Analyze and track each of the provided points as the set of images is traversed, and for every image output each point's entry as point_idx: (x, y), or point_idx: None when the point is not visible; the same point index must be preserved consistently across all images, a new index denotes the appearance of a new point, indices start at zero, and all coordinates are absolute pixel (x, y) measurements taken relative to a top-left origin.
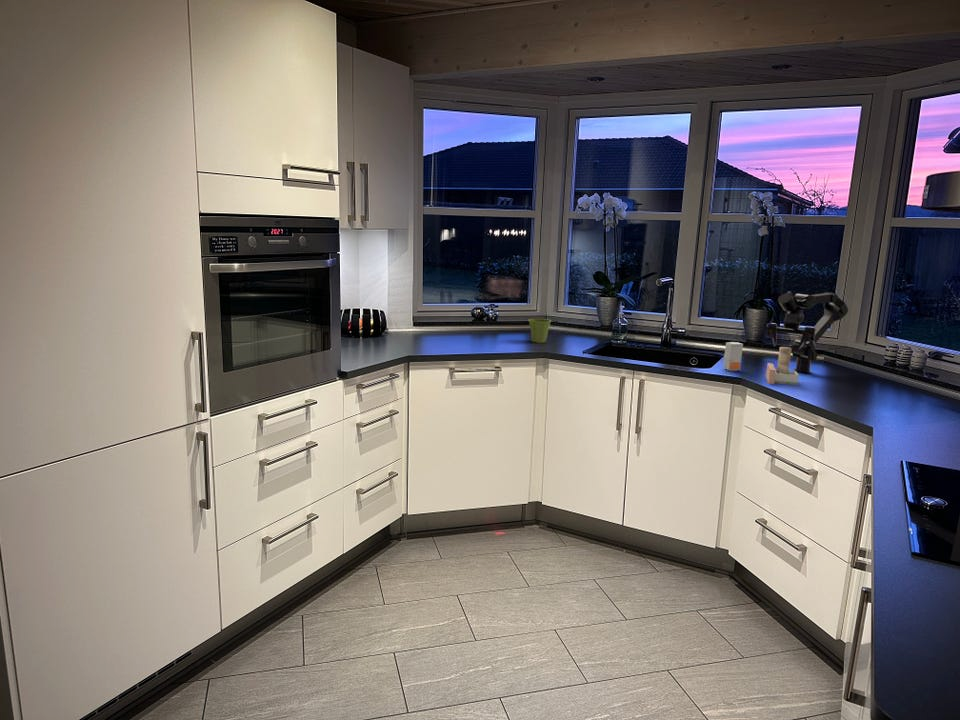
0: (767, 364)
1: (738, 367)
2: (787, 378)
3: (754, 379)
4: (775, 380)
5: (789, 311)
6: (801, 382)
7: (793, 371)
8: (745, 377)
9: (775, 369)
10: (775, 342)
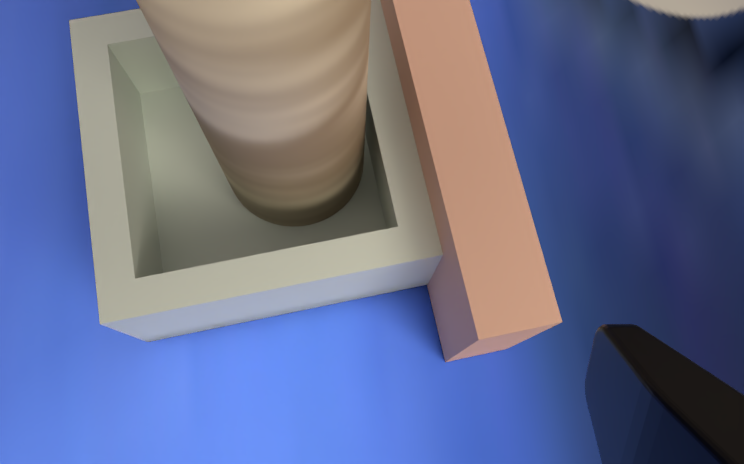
0: (555, 322)
1: None
2: None
3: (584, 113)
4: None
5: None
6: (70, 333)
7: (141, 283)
8: (696, 154)
9: (401, 248)
10: (669, 383)
